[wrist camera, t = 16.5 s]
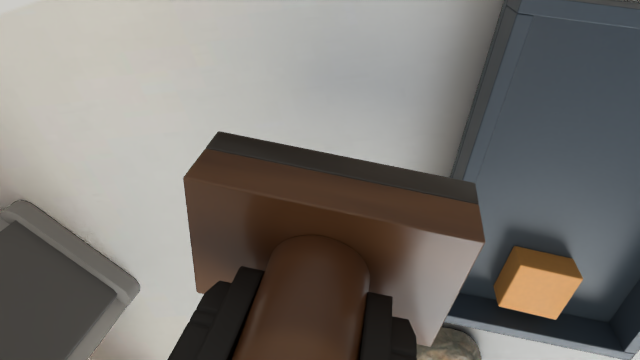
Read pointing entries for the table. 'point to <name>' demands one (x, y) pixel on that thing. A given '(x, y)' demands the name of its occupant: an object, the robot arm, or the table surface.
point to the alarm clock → (54, 289)
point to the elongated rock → (449, 347)
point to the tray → (559, 168)
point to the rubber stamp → (327, 243)
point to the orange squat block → (537, 282)
